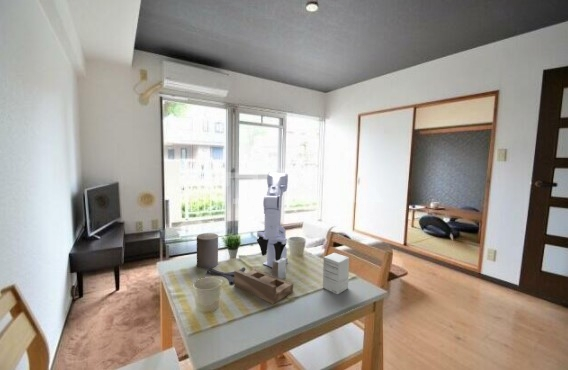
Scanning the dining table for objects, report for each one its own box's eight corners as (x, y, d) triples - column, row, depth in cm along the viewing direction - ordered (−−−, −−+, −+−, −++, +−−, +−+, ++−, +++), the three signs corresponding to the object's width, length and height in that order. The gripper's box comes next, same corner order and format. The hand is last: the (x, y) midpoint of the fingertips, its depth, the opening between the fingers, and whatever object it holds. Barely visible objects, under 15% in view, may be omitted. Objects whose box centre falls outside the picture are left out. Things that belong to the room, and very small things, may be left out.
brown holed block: (255, 275, 112) (255, 262, 112) (292, 291, 100) (293, 276, 99) (234, 285, 103) (234, 270, 103) (273, 304, 91) (273, 287, 90)
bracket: (214, 267, 121) (214, 262, 121) (245, 270, 118) (245, 265, 118) (198, 282, 107) (198, 275, 107) (233, 286, 104) (233, 279, 104)
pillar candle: (192, 267, 119) (192, 235, 118) (203, 259, 129) (203, 229, 127) (212, 270, 117) (212, 237, 116) (221, 261, 127) (222, 231, 125)
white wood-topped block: (281, 274, 114) (282, 256, 114) (287, 276, 113) (287, 258, 112) (272, 279, 110) (272, 260, 109) (277, 281, 108) (278, 262, 107)
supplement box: (332, 281, 108) (334, 252, 107) (348, 288, 103) (350, 257, 102) (321, 287, 103) (323, 256, 102) (337, 295, 98) (339, 262, 97)
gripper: (252, 223, 109) (251, 255, 110) (278, 230, 99) (278, 265, 101) (263, 220, 114) (263, 251, 115) (290, 226, 105) (289, 259, 106)
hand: (271, 257), depth 108 cm, fingers open, 7 cm apart
